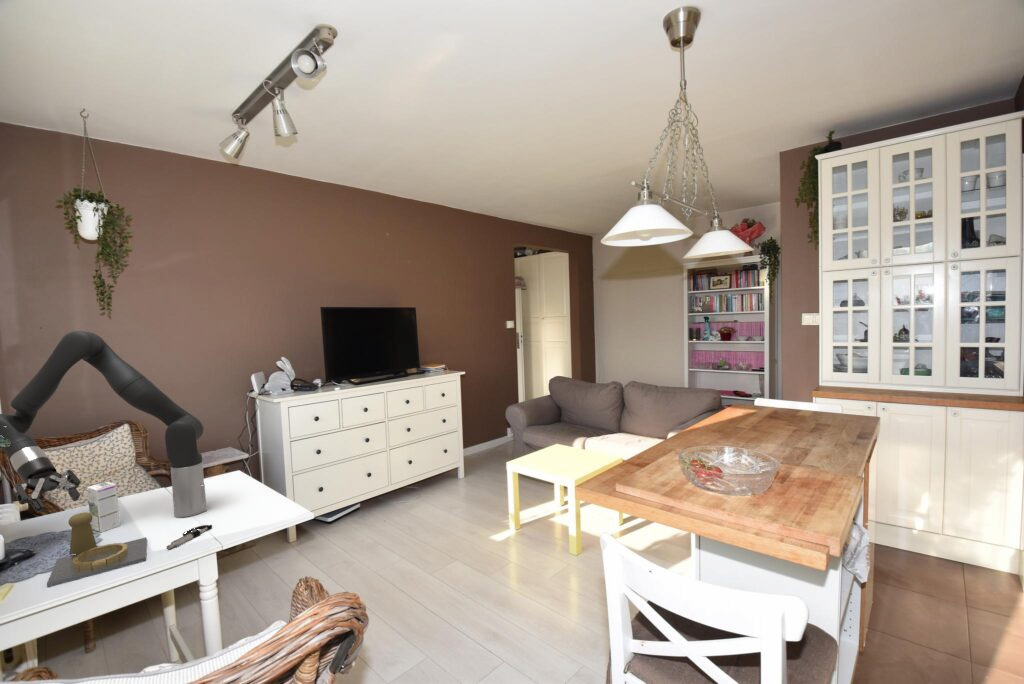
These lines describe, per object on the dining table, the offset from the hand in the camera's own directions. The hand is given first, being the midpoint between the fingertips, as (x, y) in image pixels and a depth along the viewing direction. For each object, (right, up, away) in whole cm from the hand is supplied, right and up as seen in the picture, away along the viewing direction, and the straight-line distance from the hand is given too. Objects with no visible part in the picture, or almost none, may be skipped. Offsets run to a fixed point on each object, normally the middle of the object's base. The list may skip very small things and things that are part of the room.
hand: (60, 504), depth 143 cm
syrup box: (+2, -12, +13) cm, 18 cm away
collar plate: (+21, -13, -9) cm, 26 cm away
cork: (+9, -13, -2) cm, 16 cm away
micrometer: (+35, -12, +4) cm, 37 cm away
